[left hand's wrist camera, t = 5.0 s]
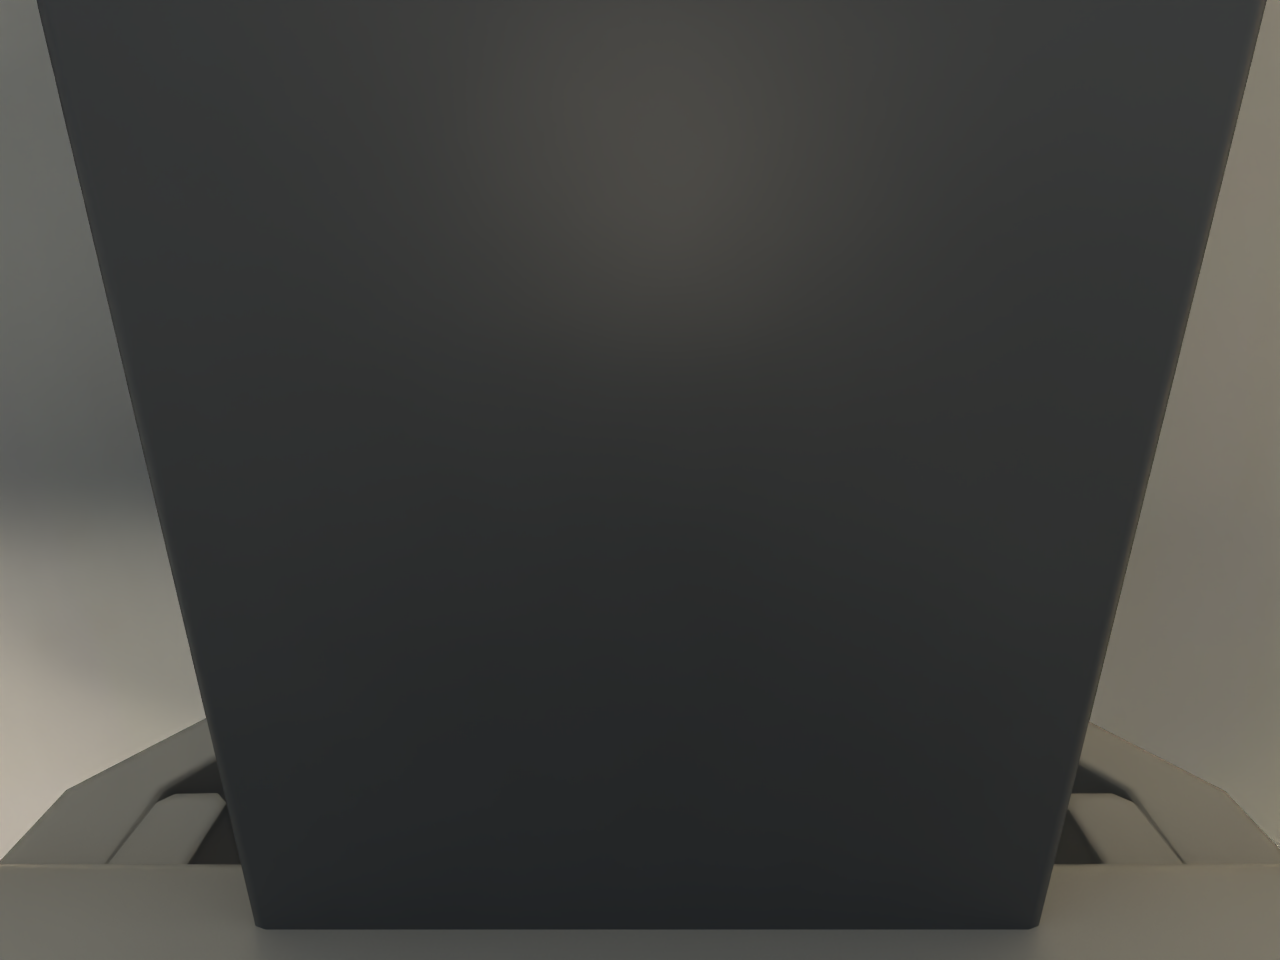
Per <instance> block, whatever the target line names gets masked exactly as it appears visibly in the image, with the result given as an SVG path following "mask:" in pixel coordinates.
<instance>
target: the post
mask: <svg viewBox="0 0 1280 960" xmlns="http://www.w3.org/2000/svg"><path fill="white" fill-rule="evenodd" d="M1266 1H1267V0H37V4H38V9H39V13H40V17H41V21H42V26H43V30H44V34H45V38H46V42H47V47H48V51H49V55H50V59H51V64H52V68H53V72H54V76H55V80H56V85H57V89H58V93H59V97H60V102H61V106H62V110H63V114H64V118H65V123H66V127H67V131H68V135H69V140H70V144H71V148H72V152H73V157H74V161H75V165H76V169H77V173H78V178H79V182H80V186H81V190H82V195H83V199H84V203H85V207H86V211H87V216H88V220H89V224H90V228H91V233H92V237H93V241H94V245H95V250H96V254H97V258H98V262H99V266H100V271H101V275H102V279H103V283H104V288H105V292H106V296H107V300H108V304H109V309H110V313H111V317H112V321H113V326H114V330H115V334H116V338H117V343H118V347H119V351H120V355H121V359H122V364H123V368H124V372H125V376H126V381H127V385H128V389H129V393H130V397H131V402H132V406H133V410H134V414H135V419H136V423H137V427H138V431H139V436H140V440H141V444H142V448H143V452H144V457H145V461H146V465H147V469H148V474H149V478H150V482H151V486H152V490H153V495H154V499H155V503H156V507H157V512H158V516H159V520H160V524H161V528H162V533H163V537H164V541H165V545H166V550H167V554H168V558H169V562H170V567H171V571H172V575H173V579H174V583H175V588H176V592H177V596H178V600H179V605H180V609H181V613H182V617H183V621H184V626H185V630H186V634H187V638H188V643H189V647H190V651H191V655H192V660H193V664H194V668H195V672H196V676H197V681H198V685H199V689H200V693H201V698H202V702H203V706H204V710H205V714H206V719H207V723H208V727H209V731H210V736H211V740H212V744H213V748H214V753H215V757H216V761H217V765H218V769H219V774H220V778H221V782H222V786H223V791H224V795H225V799H226V803H227V807H228V812H229V816H230V820H231V824H232V829H233V833H234V837H235V841H236V845H237V850H238V854H239V858H240V862H241V867H242V871H243V875H244V879H245V884H246V888H247V892H248V896H249V900H250V905H251V909H252V913H253V917H254V922H255V926H257V927H260V928H262V929H265V930H1029V929H1032V928H1034V927H1037V926H1039V922H1040V918H1041V914H1042V910H1043V906H1044V902H1045V898H1046V894H1047V890H1048V886H1049V882H1050V878H1051V874H1052V870H1053V866H1054V862H1055V858H1056V853H1057V849H1058V845H1059V841H1060V837H1061V833H1062V829H1063V825H1064V821H1065V817H1066V813H1067V809H1068V805H1069V801H1070V797H1071V793H1072V788H1073V784H1074V780H1075V776H1076V772H1077V768H1078V764H1079V760H1080V756H1081V752H1082V748H1083V744H1084V740H1085V736H1086V732H1087V728H1088V724H1089V719H1090V715H1091V711H1092V707H1093V703H1094V699H1095V695H1096V691H1097V687H1098V683H1099V679H1100V675H1101V671H1102V667H1103V663H1104V659H1105V655H1106V650H1107V646H1108V642H1109V638H1110V634H1111V630H1112V626H1113V622H1114V618H1115V614H1116V610H1117V606H1118V602H1119V598H1120V594H1121V590H1122V585H1123V581H1124V577H1125V573H1126V569H1127V565H1128V561H1129V557H1130V553H1131V549H1132V545H1133V541H1134V537H1135V533H1136V529H1137V525H1138V521H1139V516H1140V512H1141V508H1142V504H1143V500H1144V496H1145V492H1146V488H1147V484H1148V480H1149V476H1150V472H1151V468H1152V464H1153V460H1154V456H1155V452H1156V447H1157V443H1158V439H1159V435H1160V431H1161V427H1162V423H1163V419H1164V415H1165V411H1166V407H1167V403H1168V399H1169V395H1170V391H1171V387H1172V382H1173V378H1174V374H1175V370H1176V366H1177V362H1178V358H1179V354H1180V350H1181V346H1182V342H1183V338H1184V334H1185V330H1186V326H1187V322H1188V318H1189V313H1190V309H1191V305H1192V301H1193V297H1194V293H1195V289H1196V285H1197V281H1198V277H1199V273H1200V269H1201V265H1202V261H1203V257H1204V253H1205V249H1206V244H1207V240H1208V236H1209V232H1210V228H1211V224H1212V220H1213V216H1214V212H1215V208H1216V204H1217V200H1218V196H1219V192H1220V188H1221V184H1222V179H1223V175H1224V171H1225V167H1226V163H1227V159H1228V155H1229V151H1230V147H1231V143H1232V139H1233V135H1234V131H1235V127H1236V123H1237V119H1238V115H1239V110H1240V106H1241V102H1242V98H1243V94H1244V90H1245V86H1246V82H1247V78H1248V74H1249V70H1250V66H1251V62H1252V58H1253V54H1254V50H1255V46H1256V41H1257V37H1258V33H1259V29H1260V25H1261V21H1262V17H1263V13H1264V9H1265V5H1266Z"/></svg>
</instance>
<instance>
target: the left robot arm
mask: <svg viewBox="0 0 1280 960" xmlns="http://www.w3.org/2000/svg"><path fill="white" fill-rule="evenodd" d="M0 960H1280V849H1279V848H1278V847H1277V846H1276V845H1275V844H1274V843H1273V842H1272V841H1271V840H1270V838H1269V837H1268V836H1267V835H1266V834H1265V833H1264V832H1263V831H1262V830H1261V829H1260V828H1259V827H1258V826H1257V825H1256V824H1255V823H1254V821H1253V820H1252V819H1251V818H1250V817H1249V816H1248V815H1247V814H1246V813H1245V812H1244V811H1243V810H1242V809H1241V808H1240V807H1239V806H1238V804H1237V803H1236V802H1235V801H1234V800H1233V799H1232V798H1231V797H1230V796H1229V795H1228V794H1227V793H1226V792H1225V791H1224V790H1222V789H1220V788H1218V787H1216V786H1214V785H1212V784H1210V783H1208V782H1206V781H1204V780H1202V779H1200V778H1198V777H1196V776H1194V775H1192V774H1190V773H1188V772H1186V771H1184V770H1182V769H1181V768H1179V767H1177V766H1175V765H1173V764H1171V763H1169V762H1167V761H1165V760H1163V759H1161V758H1159V757H1157V756H1155V755H1153V754H1151V753H1149V752H1147V751H1145V750H1143V749H1141V748H1139V747H1138V746H1136V745H1134V744H1132V743H1130V742H1128V741H1126V740H1124V739H1122V738H1120V737H1118V736H1116V735H1114V734H1112V733H1110V732H1108V731H1106V730H1104V729H1102V728H1100V727H1098V726H1096V725H1094V724H1093V723H1091V722H1089V724H1088V728H1087V732H1086V736H1085V740H1084V744H1083V748H1082V752H1081V756H1080V760H1079V764H1078V768H1077V772H1076V776H1075V780H1074V784H1073V788H1072V793H1071V797H1070V801H1069V805H1068V809H1067V813H1066V817H1065V821H1064V825H1063V829H1062V833H1061V837H1060V841H1059V845H1058V849H1057V853H1056V858H1055V862H1054V866H1053V870H1052V874H1051V878H1050V882H1049V886H1048V890H1047V894H1046V898H1045V902H1044V906H1043V910H1042V914H1041V918H1040V922H1039V926H1037V927H1034V928H1032V929H1029V930H265V929H262V928H260V927H257V926H255V922H254V917H253V913H252V909H251V905H250V900H249V896H248V892H247V888H246V884H245V879H244V875H243V871H242V867H241V862H240V858H239V854H238V850H237V845H236V841H235V837H234V833H233V829H232V824H231V820H230V816H229V812H228V807H227V803H226V799H225V795H224V791H223V786H222V782H221V778H220V774H219V769H218V765H217V761H216V757H215V753H214V748H213V744H212V740H211V736H210V731H209V727H208V723H207V719H204V720H202V721H200V722H198V723H196V724H194V725H192V726H190V727H188V728H186V729H184V730H182V731H180V732H178V733H176V734H174V735H172V736H171V737H169V738H167V739H165V740H163V741H161V742H159V743H157V744H155V745H153V746H151V747H149V748H147V749H145V750H143V751H141V752H139V753H137V754H136V755H134V756H132V757H130V758H128V759H126V760H124V761H122V762H120V763H118V764H116V765H114V766H112V767H110V768H108V769H106V770H104V771H102V772H101V773H99V774H97V775H95V776H93V777H91V778H89V779H87V780H85V781H83V782H81V783H79V784H77V785H75V786H73V787H71V788H69V789H67V790H66V791H65V792H64V793H63V794H62V795H61V796H60V797H59V799H58V800H57V801H56V802H55V803H54V804H53V805H52V806H51V807H50V808H49V809H48V810H47V811H46V812H45V814H44V815H43V816H42V817H41V818H40V819H39V820H38V821H37V822H36V823H35V824H34V825H33V826H32V827H31V829H30V830H29V831H28V832H27V833H26V834H25V835H24V836H23V837H22V838H21V839H20V840H19V841H18V843H17V844H16V845H15V846H14V847H13V848H12V849H11V850H10V851H9V852H8V853H7V854H6V855H5V856H4V858H3V859H2V860H1V861H0Z"/></svg>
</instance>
